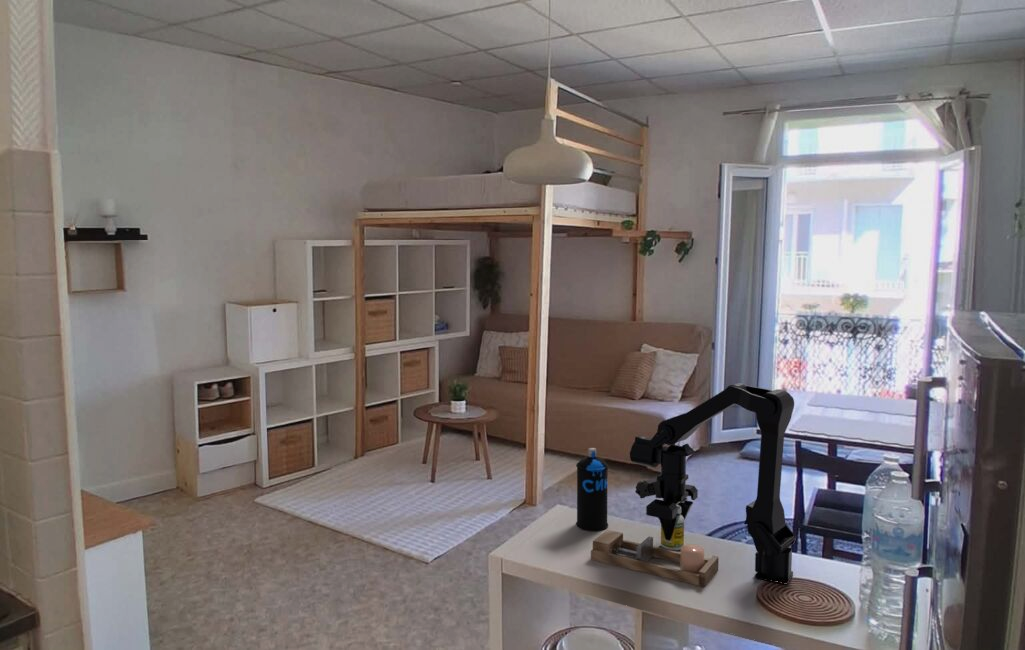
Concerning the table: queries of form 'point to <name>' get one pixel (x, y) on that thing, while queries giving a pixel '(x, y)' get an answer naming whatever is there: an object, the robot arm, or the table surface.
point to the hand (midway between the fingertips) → (672, 535)
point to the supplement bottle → (675, 535)
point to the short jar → (692, 558)
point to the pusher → (640, 550)
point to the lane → (615, 541)
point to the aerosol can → (592, 492)
